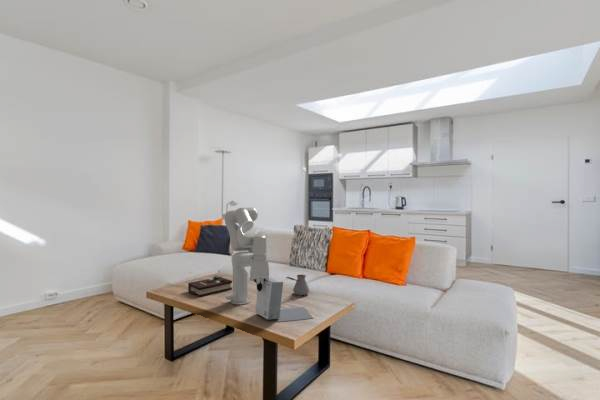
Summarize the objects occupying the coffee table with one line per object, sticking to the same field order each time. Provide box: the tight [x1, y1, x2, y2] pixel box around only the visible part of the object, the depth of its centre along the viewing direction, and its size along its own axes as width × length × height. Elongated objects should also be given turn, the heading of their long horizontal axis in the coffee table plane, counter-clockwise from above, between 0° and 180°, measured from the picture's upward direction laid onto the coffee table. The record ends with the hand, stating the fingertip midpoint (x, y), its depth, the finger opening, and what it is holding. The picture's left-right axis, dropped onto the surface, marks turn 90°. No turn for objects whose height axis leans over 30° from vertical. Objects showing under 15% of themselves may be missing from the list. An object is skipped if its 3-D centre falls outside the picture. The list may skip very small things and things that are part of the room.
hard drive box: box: [254, 277, 284, 320], centre depth 175 cm, size 16×8×20 cm, turn 35°
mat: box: [275, 306, 314, 323], centre depth 178 cm, size 20×18×1 cm
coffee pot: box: [285, 274, 310, 297], centre depth 212 cm, size 21×12×15 cm, turn 141°
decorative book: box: [187, 275, 233, 298], centre depth 223 cm, size 19×8×30 cm
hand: (259, 290), depth 173 cm, fingers closed
